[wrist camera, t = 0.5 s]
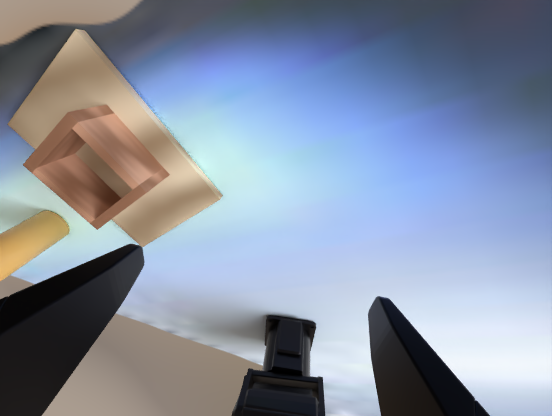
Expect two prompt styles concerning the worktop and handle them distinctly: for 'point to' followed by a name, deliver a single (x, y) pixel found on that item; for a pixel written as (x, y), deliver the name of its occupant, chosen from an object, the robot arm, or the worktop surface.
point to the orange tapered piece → (29, 240)
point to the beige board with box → (108, 147)
